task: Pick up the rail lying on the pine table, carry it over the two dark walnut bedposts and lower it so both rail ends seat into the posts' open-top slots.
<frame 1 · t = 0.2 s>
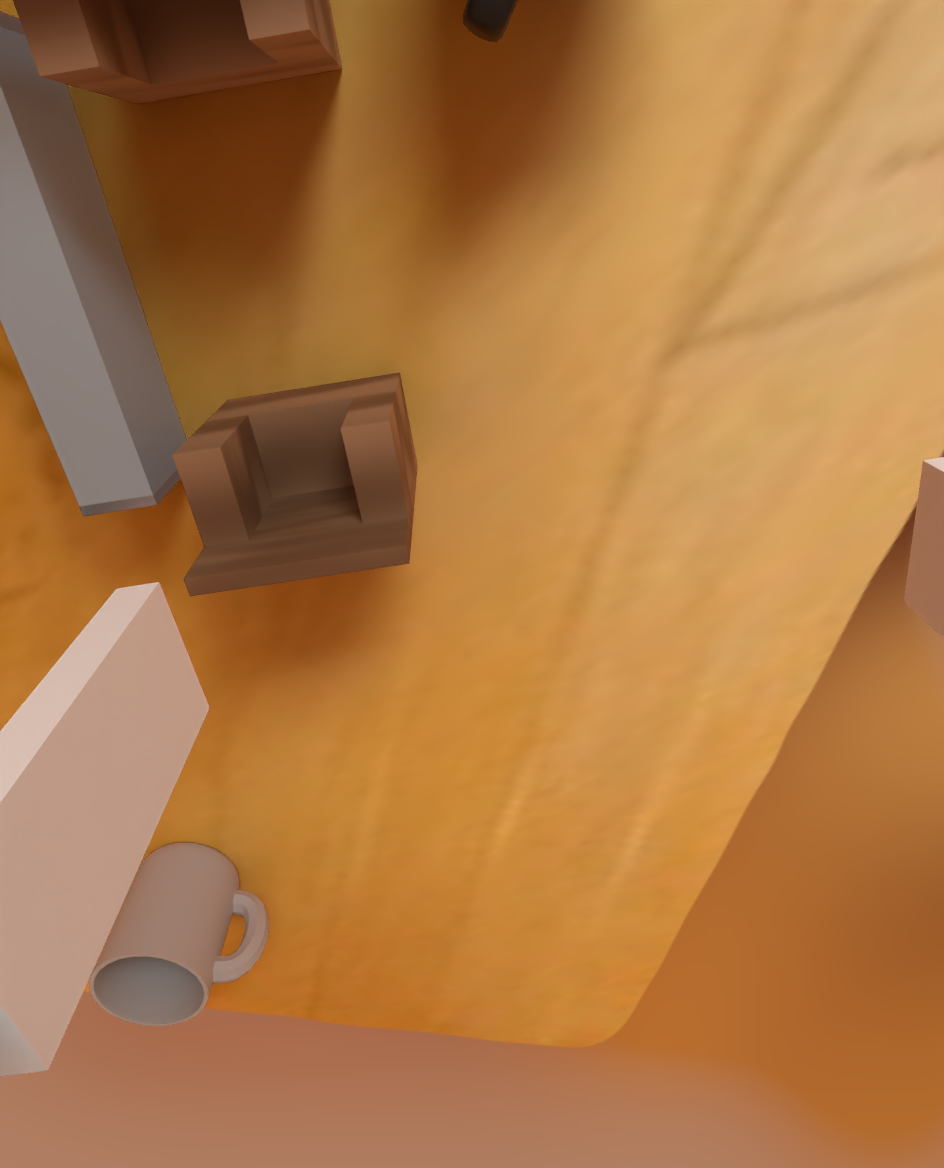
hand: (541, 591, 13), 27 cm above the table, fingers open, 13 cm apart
rail: (94, 280, 36), on the table
cup: (211, 874, 55), on the table
post foot: (324, 433, 39), on the table
post head: (222, 15, 31), on the table
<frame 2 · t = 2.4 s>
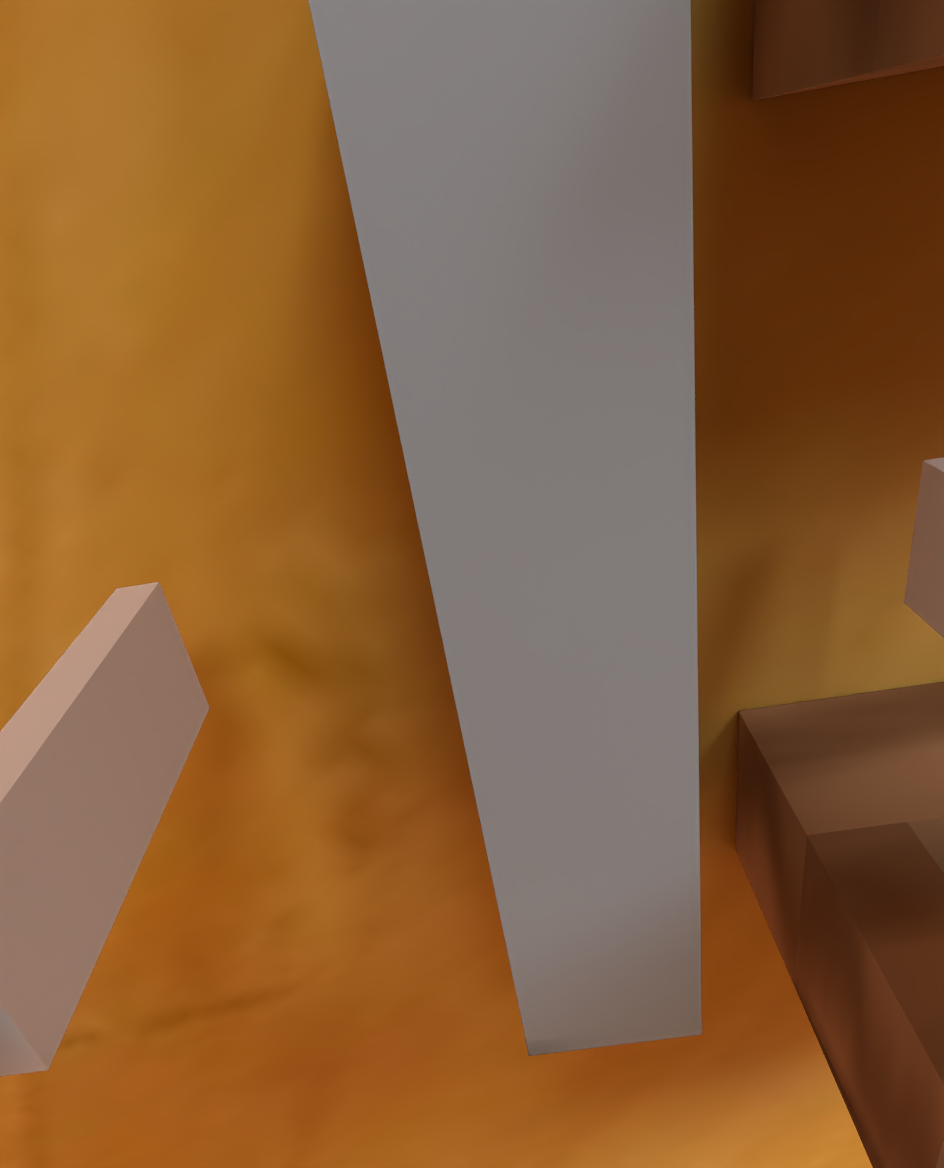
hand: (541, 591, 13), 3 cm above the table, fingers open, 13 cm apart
rail: (529, 500, 16), on the table
post foot: (908, 760, 20), on the table
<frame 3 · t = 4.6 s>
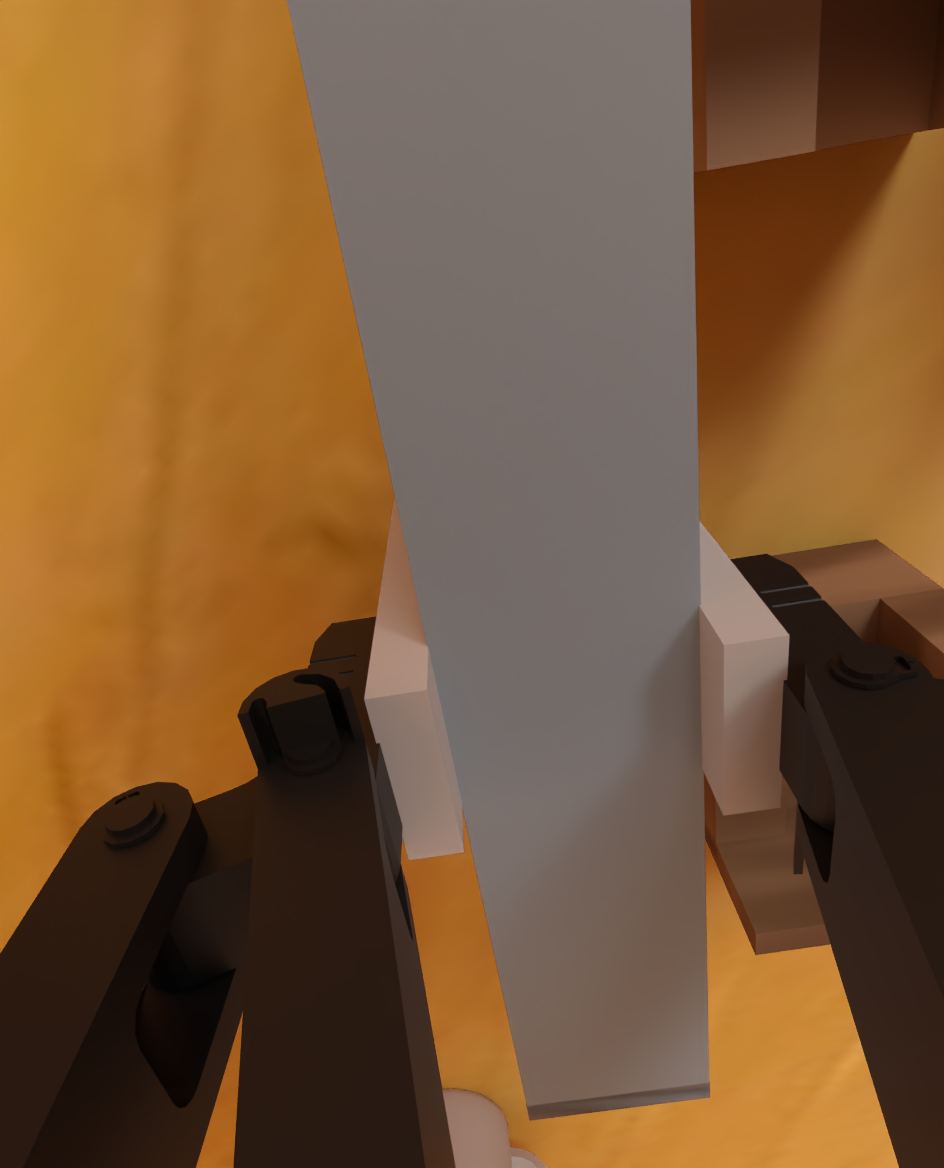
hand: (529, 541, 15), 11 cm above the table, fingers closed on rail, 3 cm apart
rail: (528, 542, 16), point 10 cm above the table, touching gripper
cup: (469, 1120, 43), on the table
post foot: (753, 617, 29), on the table
post head: (761, 56, 21), on the table
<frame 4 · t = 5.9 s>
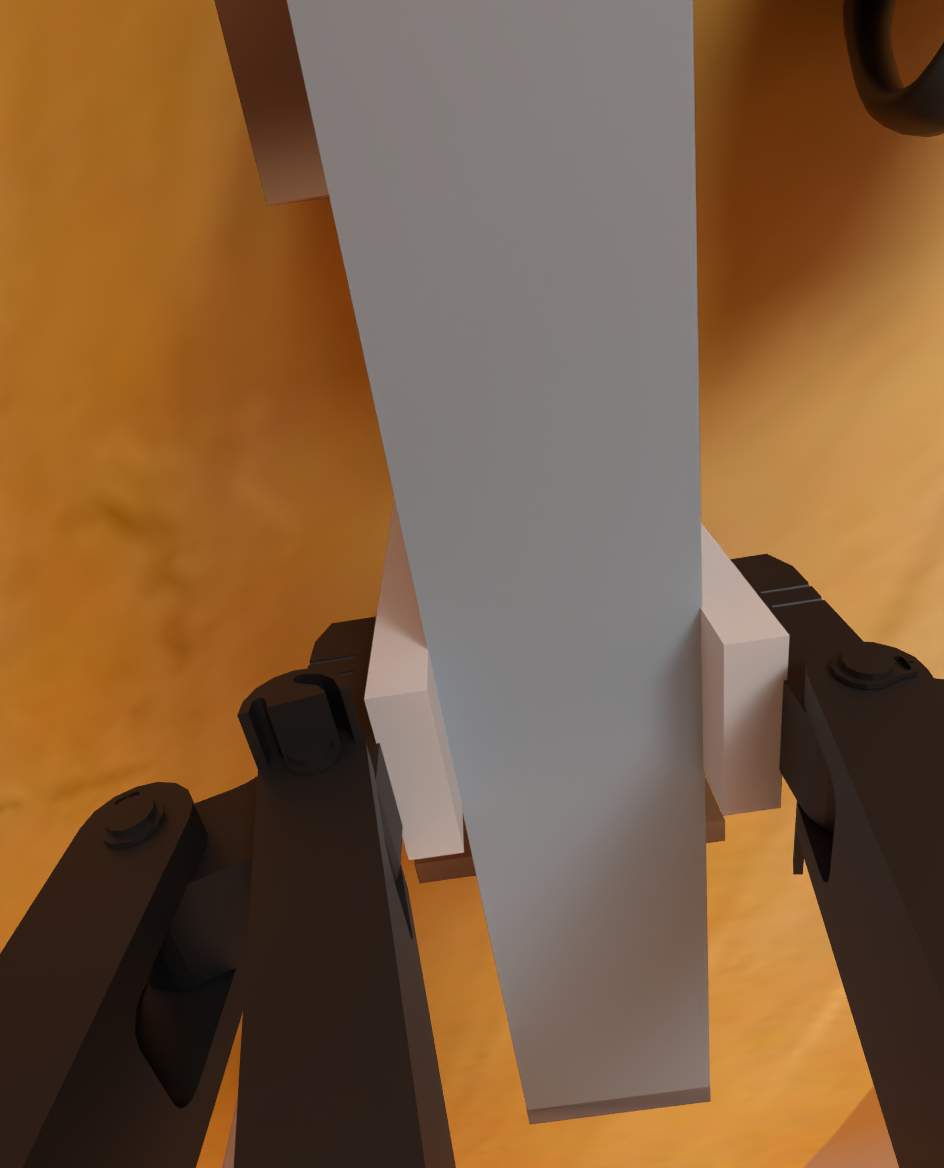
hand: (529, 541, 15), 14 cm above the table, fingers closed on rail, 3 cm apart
rail: (528, 545, 15), point 13 cm above the table, touching gripper
cup: (329, 1055, 47), on the table
post foot: (521, 591, 31), on the table
post head: (448, 81, 23), on the table
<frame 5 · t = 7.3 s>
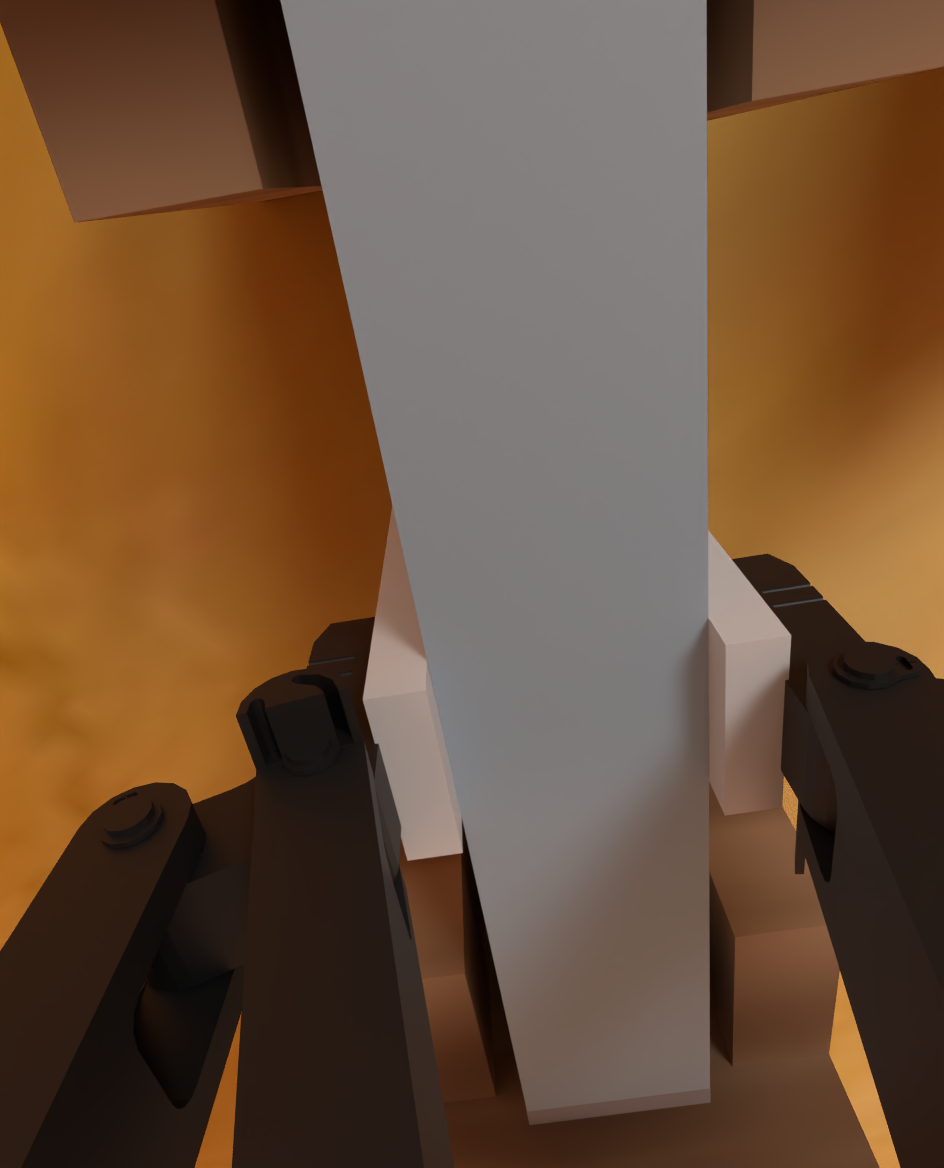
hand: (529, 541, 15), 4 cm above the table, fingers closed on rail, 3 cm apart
rail: (529, 543, 15), point 4 cm above the table, touching gripper, post foot, post head
post foot: (549, 738, 23), on the table
post head: (451, 15, 14), on the table
when the fingers open (3 cm above the table, at t = 7.7 s): rail stays where it is, resting on post foot, post head.
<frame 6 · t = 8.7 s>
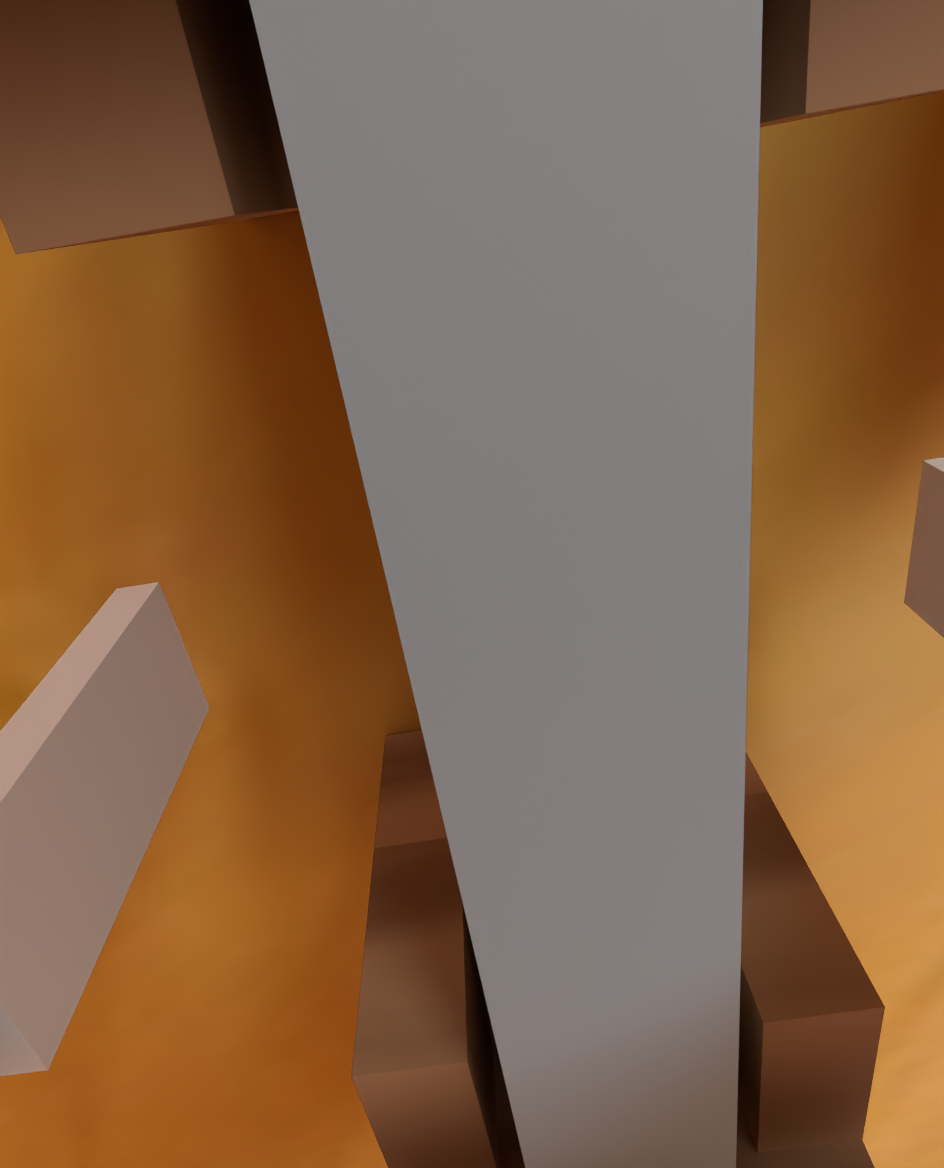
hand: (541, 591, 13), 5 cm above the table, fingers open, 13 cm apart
rail: (537, 587, 14), point 4 cm above the table, touching post foot, post head
post foot: (555, 779, 22), on the table
post head: (452, 21, 13), on the table
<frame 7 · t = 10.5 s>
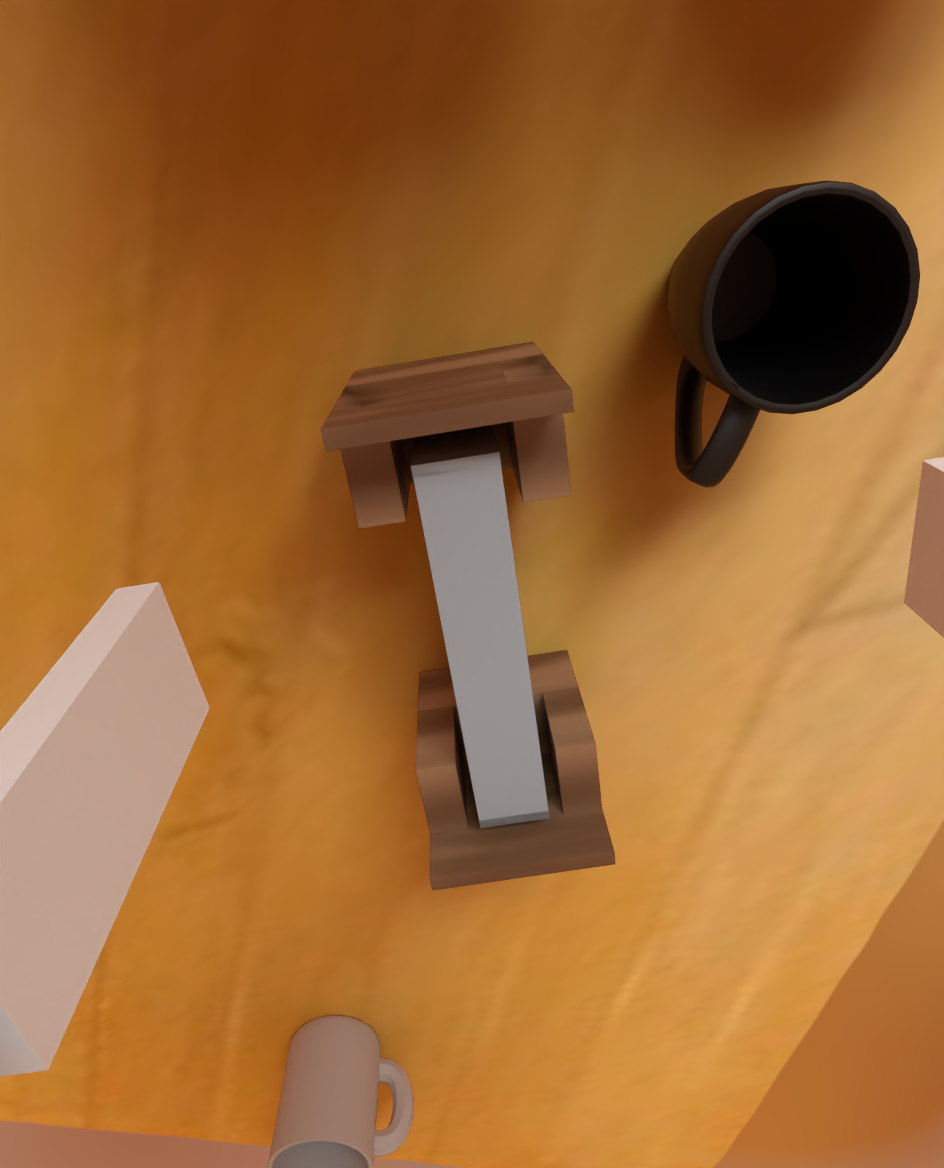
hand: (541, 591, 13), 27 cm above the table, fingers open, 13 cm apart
mug: (701, 324, 37), on the table
rail: (481, 602, 39), point 4 cm above the table, touching post foot, post head
cup: (353, 1040, 60), on the table
post foot: (498, 695, 46), on the table
post head: (451, 406, 38), on the table
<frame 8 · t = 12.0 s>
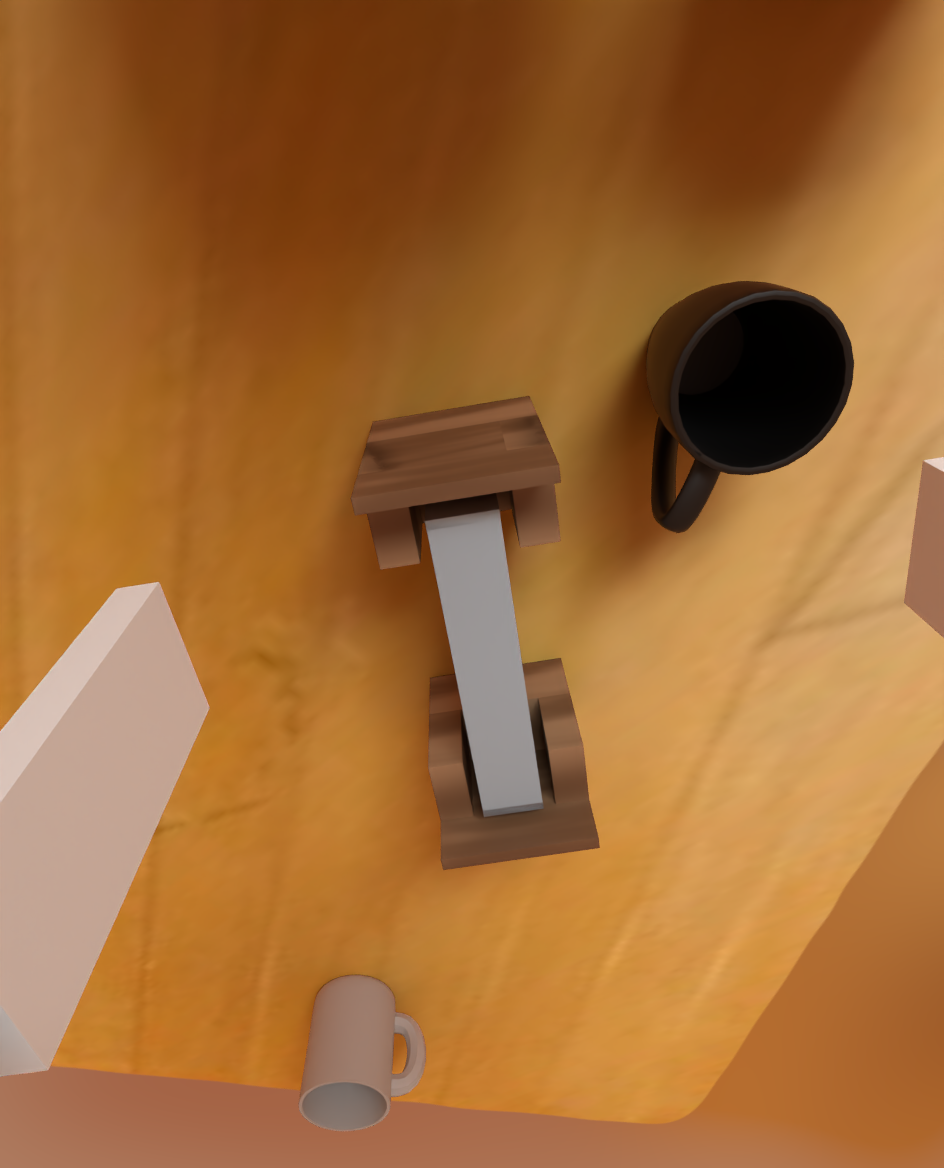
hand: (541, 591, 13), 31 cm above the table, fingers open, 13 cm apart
mug: (678, 379, 42), on the table
rail: (484, 622, 44), point 4 cm above the table, touching post foot, post head
cup: (371, 997, 67), on the table
post foot: (500, 697, 52), on the table
post head: (457, 450, 44), on the table
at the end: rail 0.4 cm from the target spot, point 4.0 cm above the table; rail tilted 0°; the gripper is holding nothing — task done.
